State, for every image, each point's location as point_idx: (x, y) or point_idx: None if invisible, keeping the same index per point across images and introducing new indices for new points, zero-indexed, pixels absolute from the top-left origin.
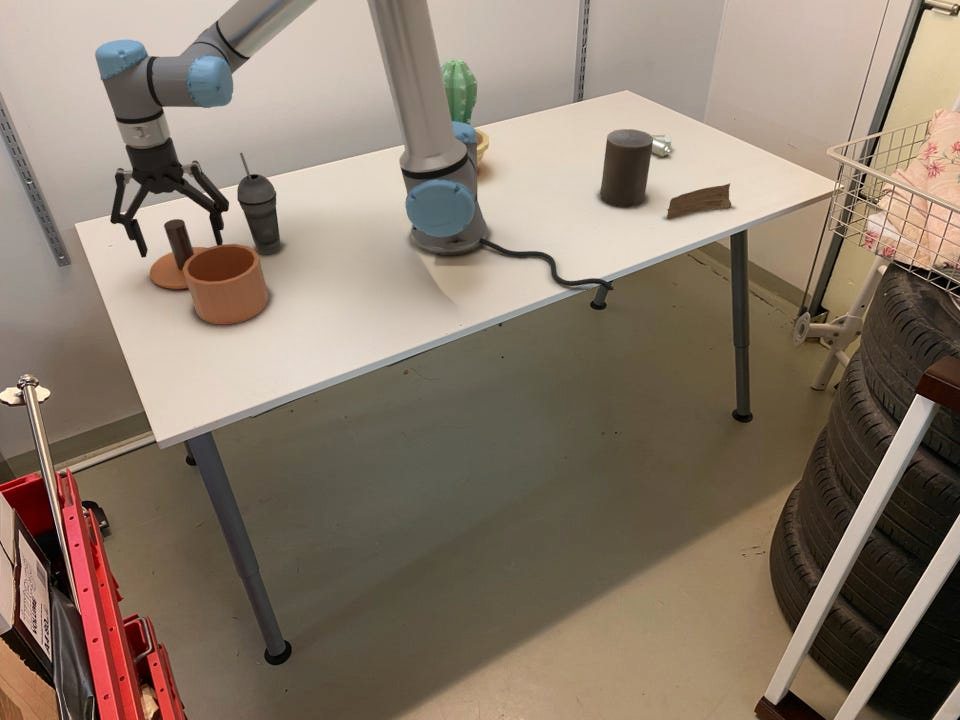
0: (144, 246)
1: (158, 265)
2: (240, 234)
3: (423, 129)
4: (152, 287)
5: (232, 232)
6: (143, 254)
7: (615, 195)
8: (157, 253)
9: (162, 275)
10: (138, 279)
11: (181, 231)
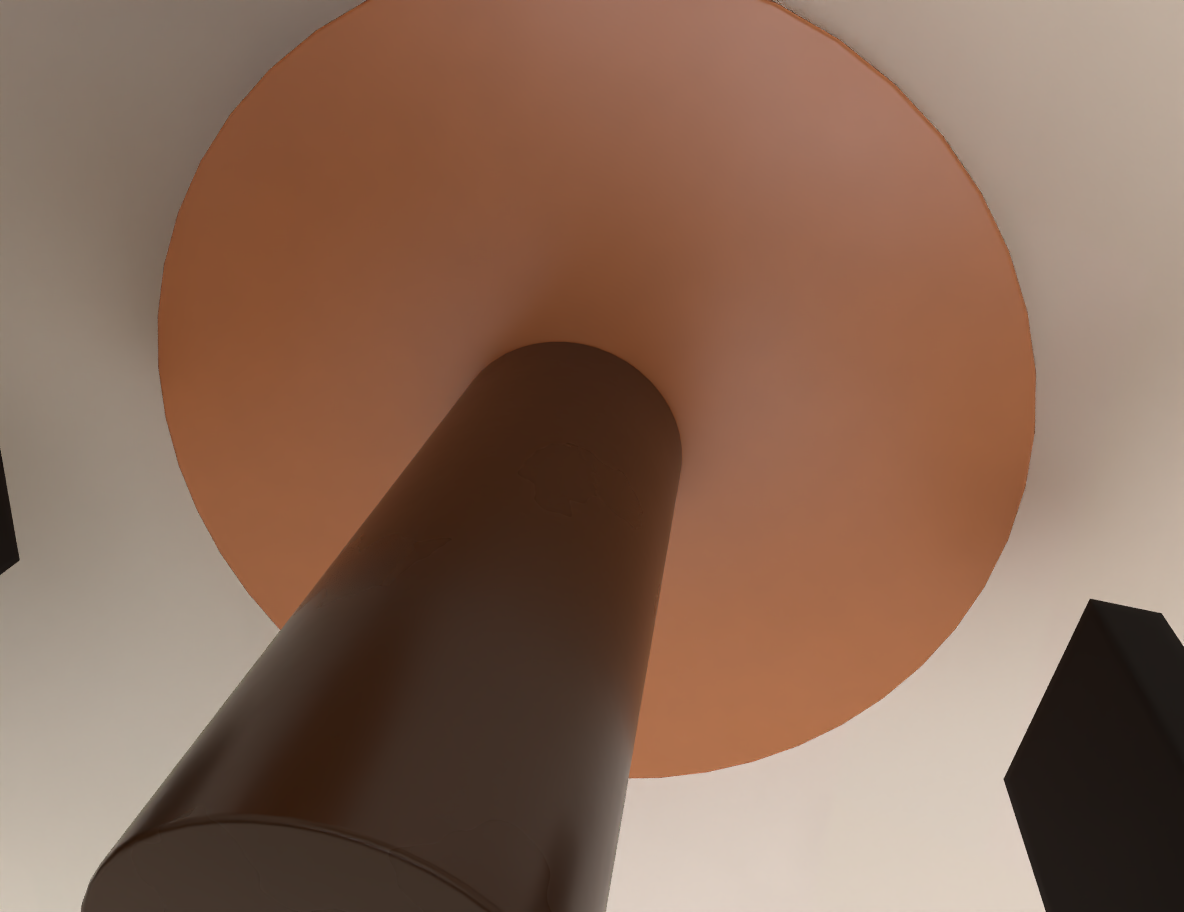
0: (1081, 792)
1: (891, 593)
2: (132, 798)
3: None
4: (1049, 240)
5: None
6: (1132, 639)
7: None
8: (852, 843)
9: (887, 358)
10: (1160, 489)
11: (223, 729)
